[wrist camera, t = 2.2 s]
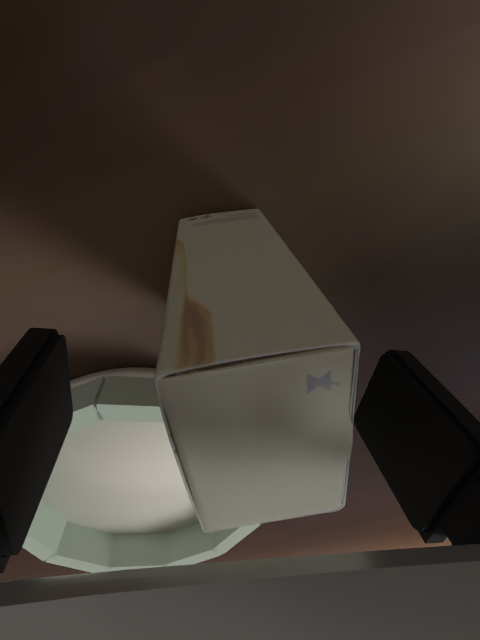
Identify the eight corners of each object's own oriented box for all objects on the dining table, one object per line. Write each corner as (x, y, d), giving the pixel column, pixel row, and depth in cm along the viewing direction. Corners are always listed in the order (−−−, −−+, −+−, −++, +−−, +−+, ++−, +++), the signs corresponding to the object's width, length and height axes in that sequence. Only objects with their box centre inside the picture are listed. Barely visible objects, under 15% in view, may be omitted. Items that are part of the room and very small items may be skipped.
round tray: (285, 375, 23) (298, 411, 20) (242, 527, 31) (246, 569, 28) (-10, 358, 19) (-47, 398, 16) (32, 532, 28) (12, 579, 25)
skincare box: (176, 217, 17) (138, 362, 6) (261, 205, 17) (368, 327, 6) (198, 325, 20) (199, 544, 9) (269, 315, 20) (349, 517, 9)
